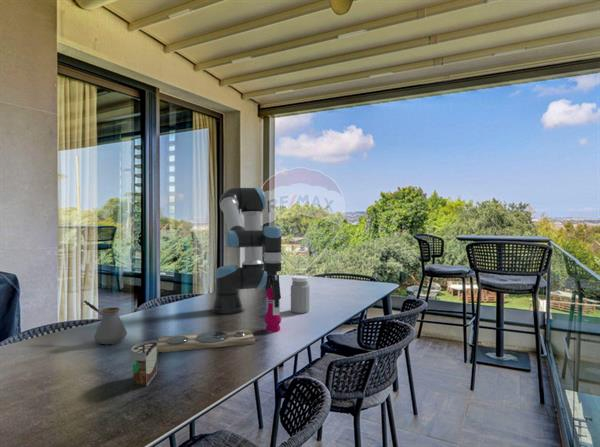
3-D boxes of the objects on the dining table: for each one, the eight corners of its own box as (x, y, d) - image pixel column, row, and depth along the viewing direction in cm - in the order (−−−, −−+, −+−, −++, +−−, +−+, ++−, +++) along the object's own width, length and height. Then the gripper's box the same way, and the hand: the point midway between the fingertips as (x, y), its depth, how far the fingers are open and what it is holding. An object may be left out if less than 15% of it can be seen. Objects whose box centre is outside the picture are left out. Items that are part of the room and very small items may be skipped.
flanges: (196, 334, 150) (196, 332, 150) (243, 330, 155) (243, 328, 155) (196, 344, 138) (196, 342, 138) (247, 339, 143) (247, 337, 143)
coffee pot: (133, 339, 148) (133, 302, 148) (108, 348, 138) (107, 308, 138) (96, 332, 157) (96, 297, 157) (70, 341, 147) (70, 303, 146)
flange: (166, 338, 145) (166, 337, 145) (188, 336, 147) (188, 335, 147) (165, 345, 137) (165, 343, 137) (187, 343, 139) (187, 341, 139)
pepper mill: (278, 333, 156) (278, 285, 156) (262, 332, 158) (262, 285, 157) (283, 328, 163) (282, 282, 163) (267, 327, 165) (267, 282, 164)
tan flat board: (159, 340, 147) (159, 336, 147) (250, 332, 157) (250, 329, 157) (155, 353, 133) (155, 348, 133) (255, 343, 143) (255, 339, 143)
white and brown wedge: (138, 371, 118) (137, 340, 117) (158, 370, 118) (157, 339, 118) (122, 389, 105) (122, 354, 105) (145, 388, 106) (144, 353, 106)
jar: (287, 312, 189) (287, 277, 189) (295, 308, 198) (295, 274, 198) (305, 314, 185) (305, 278, 185) (312, 310, 195) (312, 275, 194)
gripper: (259, 259, 171) (259, 305, 171) (269, 265, 147) (270, 319, 147) (275, 258, 173) (275, 304, 173) (288, 265, 149) (288, 317, 149)
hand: (272, 311), depth 160 cm, fingers open, 13 cm apart
